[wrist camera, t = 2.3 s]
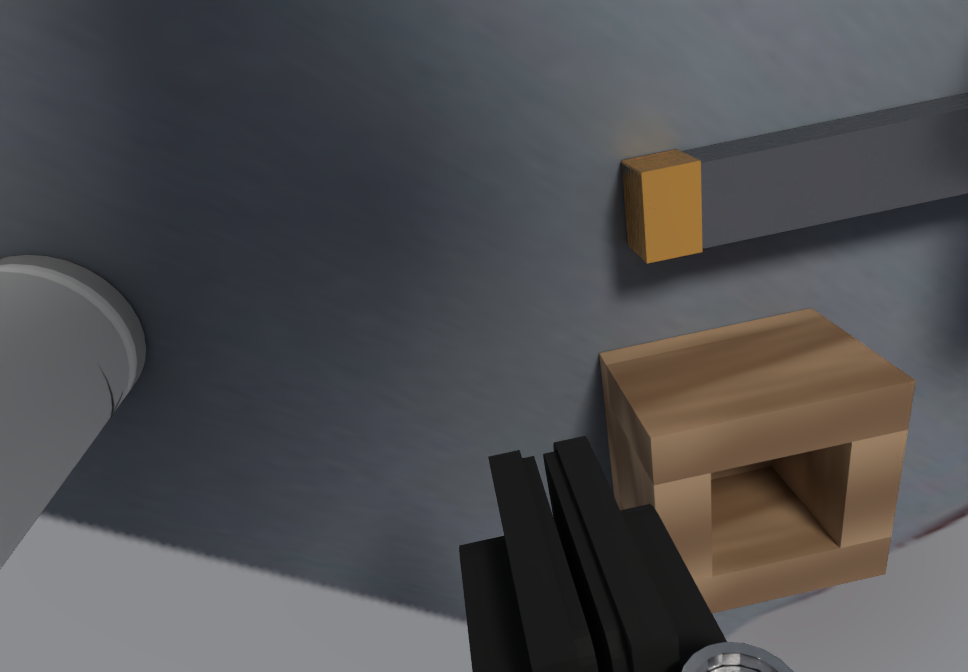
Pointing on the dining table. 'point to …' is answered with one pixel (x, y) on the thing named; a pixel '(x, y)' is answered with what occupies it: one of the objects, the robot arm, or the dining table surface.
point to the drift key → (795, 178)
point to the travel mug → (56, 378)
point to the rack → (762, 452)
